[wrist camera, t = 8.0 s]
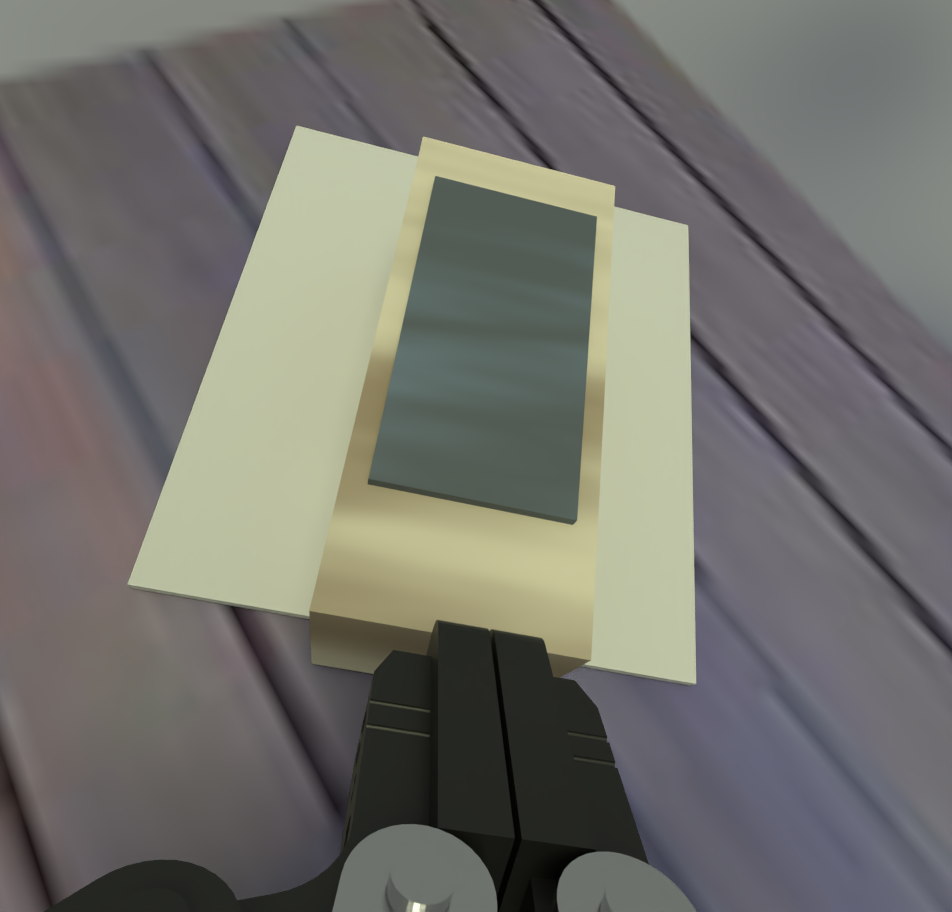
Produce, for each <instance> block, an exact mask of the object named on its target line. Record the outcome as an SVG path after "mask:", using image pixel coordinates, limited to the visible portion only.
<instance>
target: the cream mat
mask: <svg viewBox="0 0 952 912" xmlns="http://www.w3.org/2000/svg"><path fill="white" fill-rule="evenodd" d="M417 160H418V157H417V156H413V155H409V154H406V153H402V152H398V151H394V150H390V149H386V148H382V147H378V146H374V145H370V144H366V143H362V142H358V141H355V140H351V139H347V138H343V137H339V136H335V135H331V134H327V133H323V132H319V131H315V130H311V129H307V128H304V127H300V126H296V128H295V131H294V134H293V137H292V139H291V142H290V145H289V147H288V150H287V153H286V156H285V158H284V161H283V164H282V166H281V169H280V172H279V175H278V177H277V180H276V183H275V185H274V188H273V191H272V194H271V196H270V199H269V202H268V204H267V207H266V210H265V213H264V215H263V218H262V221H261V224H260V226H259V229H258V232H257V234H256V237H255V240H254V243H253V245H252V248H251V251H250V253H249V256H248V259H247V262H246V264H245V267H244V270H243V272H242V275H241V278H240V281H239V283H238V286H237V289H236V291H235V294H234V297H233V300H232V302H231V305H230V308H229V310H228V313H227V316H226V319H225V321H224V324H223V327H222V329H221V332H220V335H219V338H218V340H217V343H216V346H215V348H214V351H213V354H212V357H211V359H210V362H209V365H208V367H207V370H206V373H205V376H204V378H203V381H202V384H201V386H200V389H199V392H198V395H197V397H196V400H195V403H194V405H193V408H192V411H191V414H190V416H189V419H188V422H187V425H186V427H185V430H184V433H183V435H182V438H181V441H180V444H179V446H178V449H177V452H176V454H175V457H174V460H173V463H172V465H171V468H170V471H169V473H168V476H167V479H166V482H165V484H164V487H163V490H162V492H161V495H160V498H159V501H158V503H157V506H156V509H155V511H154V514H153V517H152V520H151V522H150V525H149V528H148V530H147V533H146V536H145V539H144V541H143V544H142V547H141V549H140V552H139V555H138V558H137V560H136V563H135V566H134V568H133V571H132V574H131V577H130V579H129V582H128V586H129V587H130V588H133V589H139V590H145V591H151V592H156V593H162V594H168V595H174V596H179V597H185V598H191V599H196V600H202V601H208V602H214V603H219V604H225V605H231V606H237V607H242V608H248V609H254V610H260V611H265V612H271V613H277V614H282V615H288V616H294V617H300V618H305V619H310V617H309V610H310V605H311V601H312V597H313V593H314V589H315V585H316V580H317V576H318V572H319V568H320V564H321V560H322V555H323V551H324V547H325V543H326V539H327V535H328V531H329V526H330V522H331V518H332V514H333V510H334V506H335V501H336V497H337V493H338V489H339V485H340V481H341V476H342V472H343V468H344V464H345V460H346V456H347V451H348V447H349V443H350V439H351V435H352V431H353V427H354V422H355V418H356V414H357V410H358V406H359V402H360V397H361V393H362V389H363V385H364V381H365V377H366V372H367V368H368V364H369V360H370V356H371V352H372V348H373V343H374V339H375V335H376V331H377V327H378V323H379V318H380V314H381V310H382V306H383V302H384V298H385V293H386V289H387V285H388V281H389V277H390V273H391V269H392V264H393V260H394V256H395V252H396V248H397V244H398V239H399V235H400V231H401V227H402V223H403V219H404V214H405V210H406V206H407V202H408V198H409V194H410V190H411V185H412V181H413V177H414V173H415V169H416V165H417ZM580 667H586V668H592V669H598V670H603V671H609V672H615V673H620V674H626V675H632V676H638V677H643V678H649V679H655V680H661V681H666V682H672V683H678V684H684V685H689V686H691V685H694V684H696V650H695V592H694V534H693V476H692V417H691V359H690V301H689V243H688V225H684V224H680V223H676V222H672V221H668V220H665V219H661V218H657V217H653V216H649V215H645V214H641V213H637V212H633V211H629V210H625V209H621V208H617V207H614V217H613V237H612V257H611V277H610V297H609V316H608V336H607V356H606V376H605V396H604V415H603V435H602V455H601V475H600V495H599V515H598V534H597V554H596V574H595V594H594V614H593V633H592V653H591V661H589V662H587V663H585V664H584V665H582V666H580Z"/></svg>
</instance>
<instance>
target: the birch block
mask: <svg viewBox="0 0 952 912" xmlns="http://www.w3.org/2000/svg"><path fill="white" fill-rule="evenodd" d="M614 198H615V186H613V185H609V184H605V183H601V182H597V181H593V180H589V179H585V178H582V177H578V176H574V175H570V174H566V173H562V172H558V171H555V170H551V169H547V168H543V167H539V166H535V165H531V164H527V163H524V162H520V161H516V160H512V159H508V158H504V157H500V156H496V155H493V154H489V153H485V152H481V151H477V150H473V149H469V148H466V147H462V146H458V145H454V144H450V143H446V142H442V141H438V140H435V139H431V138H427V137H423V140H422V144H421V148H420V152H419V156H418V160H417V165H416V169H415V173H414V177H413V181H412V185H411V190H410V194H409V198H408V202H407V206H406V210H405V214H404V219H403V223H402V227H401V231H400V235H399V239H398V244H397V248H396V252H395V256H394V260H393V264H392V269H391V273H390V277H389V281H388V285H387V289H386V293H385V298H384V302H383V306H382V310H381V314H380V318H379V323H378V327H377V331H376V335H375V339H374V343H373V348H372V352H371V356H370V360H369V364H368V368H367V372H366V377H365V381H364V385H363V389H362V393H361V397H360V402H359V406H358V410H357V414H356V418H355V422H354V427H353V431H352V435H351V439H350V443H349V447H348V451H347V456H346V460H345V464H344V468H343V472H342V476H341V481H340V485H339V489H338V493H337V497H336V501H335V506H334V510H333V514H332V518H331V522H330V526H329V531H328V535H327V539H326V543H325V547H324V551H323V555H322V560H321V564H320V568H319V572H318V576H317V580H316V585H315V589H314V593H313V597H312V601H311V605H310V610H309V617H310V638H311V659H312V664H317V665H323V666H329V667H335V668H341V669H347V670H353V671H359V672H365V673H371V674H374V671H375V670H376V669H377V667H378V666H379V665H380V664H381V663H382V662H383V661H384V660H385V659H386V657H387V656H388V655H389V654H390V653H391V652H392V651H393V650H397V651H403V652H409V653H415V654H420V655H426V654H427V650H428V646H429V642H430V638H431V634H432V630H433V627H434V624H435V622H436V620H442V621H448V622H454V623H459V624H465V625H470V626H476V627H482V628H487V629H489V631H490V630H491V629H494V630H500V631H506V632H511V633H517V634H523V635H528V636H534V637H539V638H542V639H543V640H544V642H545V646H546V650H547V654H548V657H549V661H550V665H551V669H552V673H553V677H557V678H560V677H561V676H563V675H565V674H567V673H569V672H571V671H572V670H574V669H576V668H578V667H580V666H582V665H584V664H585V663H587V662H589V661H591V653H592V633H593V614H594V594H595V574H596V554H597V534H598V515H599V495H600V475H601V455H602V435H603V415H604V396H605V376H606V356H607V336H608V316H609V297H610V277H611V257H612V237H613V217H614Z"/></svg>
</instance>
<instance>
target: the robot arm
mask: <svg viewBox="0 0 952 912" xmlns="http://www.w3.org/2000/svg"><path fill="white" fill-rule="evenodd" d="M44 912H696V910H695V908H694V907H693V905H692V904H691V903H690V901H689V900H688V898H687V897H686V896H685V895H684V893H683V892H682V891H681V890H680V889H679V888H678V887H677V886H676V885H675V884H674V883H673V882H672V881H671V880H670V879H669V878H667V877H666V876H665V875H664V874H662V873H661V872H659V871H658V870H657V869H655V868H653V867H652V866H650V865H649V864H648V861H647V858H646V854H645V851H644V848H643V845H642V842H641V839H640V836H639V833H638V830H637V827H636V824H635V821H634V818H633V815H632V812H631V809H630V806H629V802H628V799H627V796H626V793H625V790H624V787H623V784H622V781H621V778H620V775H619V772H618V769H617V768H615V760H614V757H613V753H612V750H611V747H610V744H609V743H607V735H606V732H605V729H604V726H603V723H602V720H601V717H600V714H599V711H598V708H597V706H596V705H595V704H594V703H593V702H592V700H591V699H590V698H589V697H588V696H587V694H586V693H585V692H584V691H583V690H582V688H581V687H580V686H579V685H578V684H577V682H576V681H574V680H568V679H563V678H557V677H553V673H552V669H551V665H550V661H549V657H548V654H547V650H546V646H545V642H544V640H543V639H542V638H539V637H534V636H528V635H523V634H517V633H511V632H506V631H500V630H494V629H491V630H490V631H489V629H487V628H482V627H476V626H470V625H465V624H459V623H454V622H448V621H442V620H436V622H435V624H434V627H433V630H432V634H431V638H430V642H429V646H428V650H427V654H426V655H420V654H415V653H409V652H403V651H397V650H393V651H392V652H391V653H390V654H389V655H388V656H387V657H386V659H385V660H384V661H383V662H382V663H381V664H380V665H379V666H378V667H377V669H376V670H375V671H374V675H373V680H372V684H371V689H370V693H369V698H368V703H367V707H366V712H365V716H364V721H363V725H362V730H361V735H360V739H359V744H358V748H357V753H356V757H355V762H354V768H353V774H352V780H351V787H350V793H349V800H348V806H347V812H346V818H345V826H344V831H343V837H342V844H341V850H340V855H339V857H338V858H337V859H336V860H335V861H334V863H333V864H332V865H331V866H330V867H329V868H328V869H326V870H325V871H324V872H323V873H321V874H320V875H319V876H318V877H316V878H314V879H312V880H311V881H309V882H307V883H305V884H303V885H301V886H298V887H296V888H293V889H291V890H288V891H284V892H280V893H276V894H271V895H265V896H260V897H254V898H249V899H244V900H238V901H237V899H236V897H235V895H234V893H233V892H232V891H231V889H230V888H229V887H228V886H227V884H226V883H225V882H224V881H223V880H221V879H220V878H219V877H218V876H217V875H216V874H214V873H212V872H210V871H209V870H207V869H205V868H203V867H201V866H198V865H195V864H192V863H188V862H183V861H177V860H153V861H144V862H140V863H136V864H132V865H128V866H125V867H123V868H120V869H117V870H115V871H112V872H110V873H108V874H106V875H104V876H103V877H101V878H99V879H97V880H95V881H93V882H92V883H90V884H89V885H87V886H85V887H84V888H82V889H80V890H79V891H77V892H75V893H74V894H72V895H71V896H69V897H67V898H66V899H64V900H62V901H61V902H59V903H58V904H56V905H54V906H53V907H51V908H49V909H48V910H46V911H44Z"/></svg>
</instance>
